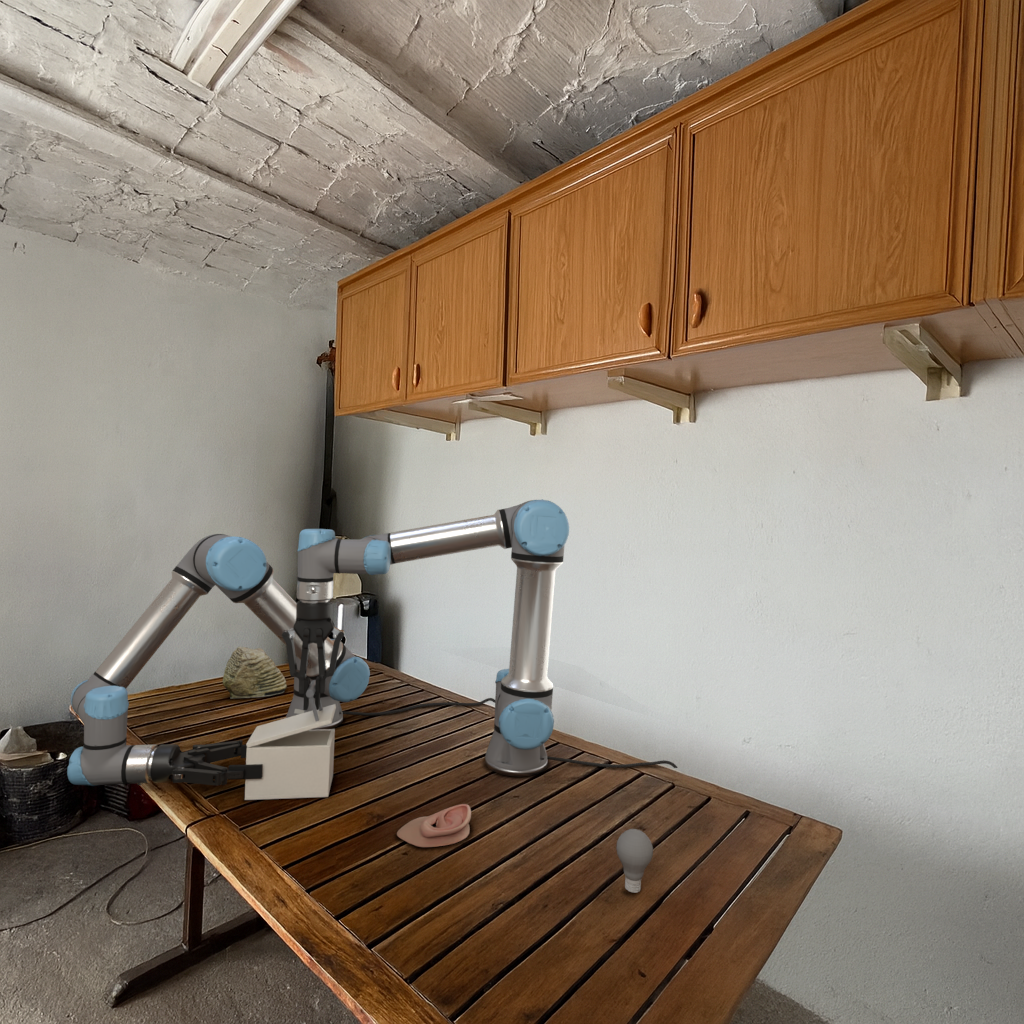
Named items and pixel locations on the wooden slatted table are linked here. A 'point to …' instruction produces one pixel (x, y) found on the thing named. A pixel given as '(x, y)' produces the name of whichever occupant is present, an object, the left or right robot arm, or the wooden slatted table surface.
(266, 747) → the chest
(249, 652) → the fossil
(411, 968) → the wooden slatted table surface
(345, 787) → the wooden slatted table surface
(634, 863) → the light bulb
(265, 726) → the lid
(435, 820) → the anatomical model
